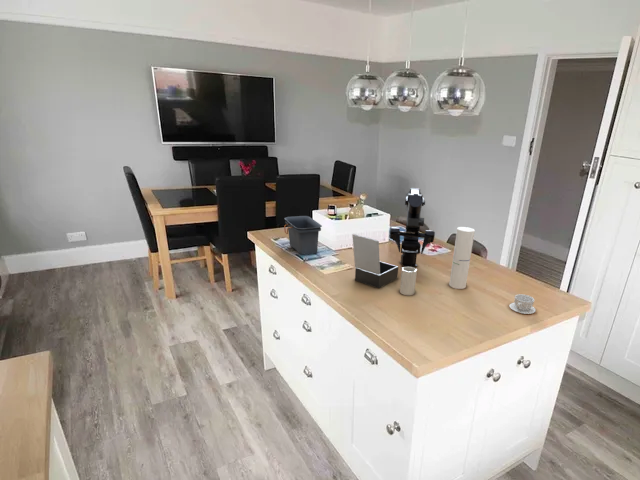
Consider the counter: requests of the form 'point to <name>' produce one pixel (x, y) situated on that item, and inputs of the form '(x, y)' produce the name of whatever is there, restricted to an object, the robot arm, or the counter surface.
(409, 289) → the white cup
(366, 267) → the grey flat rectangular panel
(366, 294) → the counter surface
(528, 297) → the teacup
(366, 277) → the dark grey open box
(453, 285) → the cylindrical container
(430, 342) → the counter surface
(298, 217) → the storage bin
